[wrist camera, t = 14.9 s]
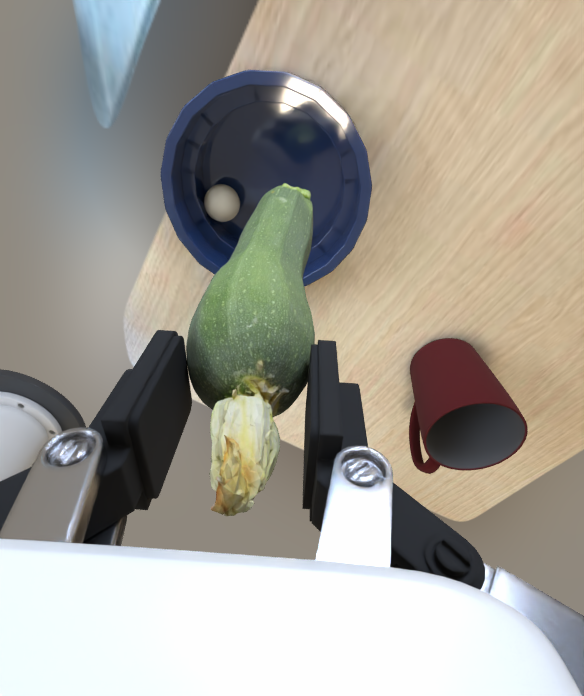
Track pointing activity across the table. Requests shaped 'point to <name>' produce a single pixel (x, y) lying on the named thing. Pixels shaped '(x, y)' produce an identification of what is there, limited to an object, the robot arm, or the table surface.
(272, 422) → the vegetable
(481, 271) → the table surface
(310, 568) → the robot arm
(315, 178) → the mixing bowl
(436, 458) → the mug
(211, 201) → the beige small ball
